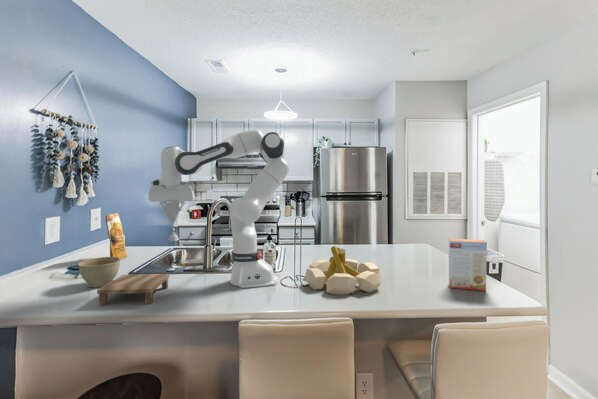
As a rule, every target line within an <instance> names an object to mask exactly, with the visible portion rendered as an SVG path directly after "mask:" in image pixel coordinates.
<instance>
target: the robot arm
mask: <svg viewBox="0 0 598 399" xmlns="http://www.w3.org/2000/svg"><path fill="white" fill-rule="evenodd" d="M253 153H258V155H259V156H260V157H261V158H262V160H263V161H264V162H265V163H266V165H265V166H264V168H262V169H261V170H260V172H259V173H258V174H257V176H256V177H255V178H254V179H253V180H252V181H251V183H250V185H249V187H248V189H247V190H246V192H245V193H244V195H243V196H242V197H237V198H235V199H233V200H232V201H231V202H230V205H229V218H230V228H231V233H232V252H231V264H232V268H231V269H232V270H231V276H230V280H229V283H230V284H231V285H233V286H237V287H239V288H241V289H246V288H256V287H257V288H258V287H259V288H260V287H268V286H276V285H277V284H278V283H279V276H278V275H277V274H275V272H274V269H273V266H272V265H271V264H269V263H268V262H267V261H265V260H264V259H262V257H263V254H262V251H259V250H258V239H257V238H258V237H257V235H258V234H257V231H256V227H255V222H257V221H258V220H259V219H260V217H261V214H262V211H263V210H264V208H265V206H266V204H267V203H268V201H269V200H270V199H271V197H272V196H273V195H274V193H275V192H276V190H278V188H279V187H280V186H281V185H282V183H283V182H284V180H285V179H286V177H287V176H288V173H289V171H290V165H289V163H288V162H287V161H286V160H285V159H284V153H285V141H284V138H283V137H282V135H281V134H279V133H278V132H275V131H270V132H267V133H266V134H263V132H261V130H259V129H258V128H251V129H247V130H244V131H241V132H238V133H235V134H233V135H231V136H229V137H228V138H226V139H224V140H222V141H221V142H219V143H217V144H216V145H212V146H209V147H207V148H204V149H201V150H198V151H185V150H183V149H182V148H180V147H179V146H168V147H165V148H163V149H162V150H161V153H160V168H161V174H160V178H158V179H154V180H151V181H150V182H149V183H150V187H149V189H148V200H149V201H150V202H151V203H153V202H154V203H155V202H159V205H160V207H161V208H162V210H161V211H162V212H166V205H165V203H164V202H171V201H180V203H179V204H181V205H179V207H178V209H179V210H178V211H179V212H183V208H184V206H185V202H193V201H195V199H196V197H195V184H194V183H193V182H192V181H182V175H187V176H189V175H195V174H197V173H199V172H200V171H201V169H202V167H203V165H204V166H205V165H206V164H209V163H213V162H214V161H218V160H220V159H221V160H222V159H238V158H241V157H244V156H247V155H248V156H249V154H253Z"/></svg>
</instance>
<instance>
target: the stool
mask: <svg viewBox="0 0 598 399" xmlns="http://www.w3.org/2000/svg"><path fill="white" fill-rule="evenodd" d="M169 278H170V273H141V274H140V273H139V274H136V273H135V274H122V275H120V276H118V277H116V278H114V279H113V281H112V282H110V283H108V284H107V285H105V286H103V287H99V288H97V290H96V295H98V297H99V298H98V300H99V306H106V305H107V304H109V298H108V296H109V295H111V294H112V295H117V294H118V295H119V294H144V300H145V301H144V304H145V305H150V304H153V303H154V302H153V300H154V297H153V292H154V291H155V290H157V288H159V287H160V286H161V289H162V290H167V289H168V288H169Z"/></svg>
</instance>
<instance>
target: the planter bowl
mask: <svg viewBox="0 0 598 399" xmlns="http://www.w3.org/2000/svg"><path fill="white" fill-rule="evenodd" d="M120 262H121V260H120V258H117V257H110V256H105V257H103V256H102V257H95V258H90V259H85V260H83V261H81V262H79V263H78V269H79V273H80V276H81V278H82V279H83V281H84V282H85V283H87V284H88V285H87V286H88V287H89V288H102V287H103V286H105V285H107V284H108V283H110V282H112V281H113V280H115V279H116V278H117V277H116V276H117V274H118V273H119V270H120V265H121V264H120Z"/></svg>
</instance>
